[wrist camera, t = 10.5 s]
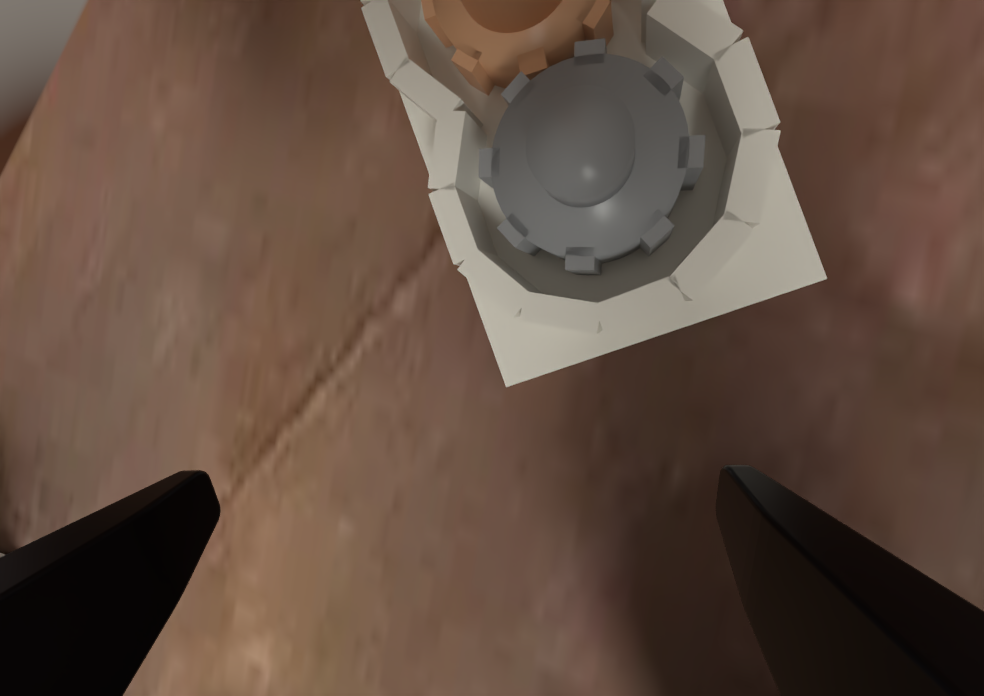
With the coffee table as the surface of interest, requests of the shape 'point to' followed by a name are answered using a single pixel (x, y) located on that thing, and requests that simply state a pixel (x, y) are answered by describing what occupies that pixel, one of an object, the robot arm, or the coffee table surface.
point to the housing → (604, 181)
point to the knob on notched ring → (514, 34)
